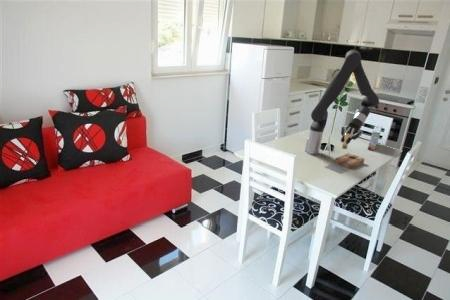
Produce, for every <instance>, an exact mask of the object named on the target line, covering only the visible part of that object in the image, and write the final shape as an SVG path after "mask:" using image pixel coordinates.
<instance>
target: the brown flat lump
mask: <svg viewBox="0 0 450 300" xmlns="http://www.w3.org/2000/svg"><path fill="white" fill-rule="evenodd" d="M364 162H365V158H364V157H360V156H358V155H355V154H352V153H350V152H348V153H345V154H343V155H341V156H338V157H336V158H335V159H334V163H335V164H337V165H338V166H339V165H340V166H341V167H343V168H346V169H350V170H352V169H354V168H357V167H358V166H362V165H363V164H364Z"/></svg>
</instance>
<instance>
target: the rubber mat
mask: <svg viewBox="0 0 450 300" xmlns="http://www.w3.org/2000/svg"><path fill="white" fill-rule="evenodd" d="M324 168H325V169H326V170H327V169H328V170H330V171H332V172H335V173H337V174H340V175H342V174H344V173H346V172H348V171H349V169H348V168H346V167H343V166H341V165H340V166H339V165H338V164H337V165H336V164H334V163H331V164H328V165H326V166H324Z"/></svg>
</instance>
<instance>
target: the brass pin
mask: <svg viewBox="0 0 450 300" xmlns="http://www.w3.org/2000/svg"><path fill="white" fill-rule="evenodd" d="M344 133H345V132H344ZM350 135H351V134H350V133H345V136H344V141H343V142H342V146H341V148H342V149H344V150H348V145H349V143H348V144H346V141H347V140H348V138H350Z"/></svg>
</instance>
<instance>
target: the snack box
mask: <svg viewBox="0 0 450 300" xmlns="http://www.w3.org/2000/svg"><path fill="white" fill-rule="evenodd" d="M382 128H383V126H381V125H374V127H373V130H372V132H371V136H370V139H369V143H368V146H367V150H368V151H372V152H375V150H376V148H377V146H378V143H379V140H380V139H379V138H380V135H381V133H382Z"/></svg>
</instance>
